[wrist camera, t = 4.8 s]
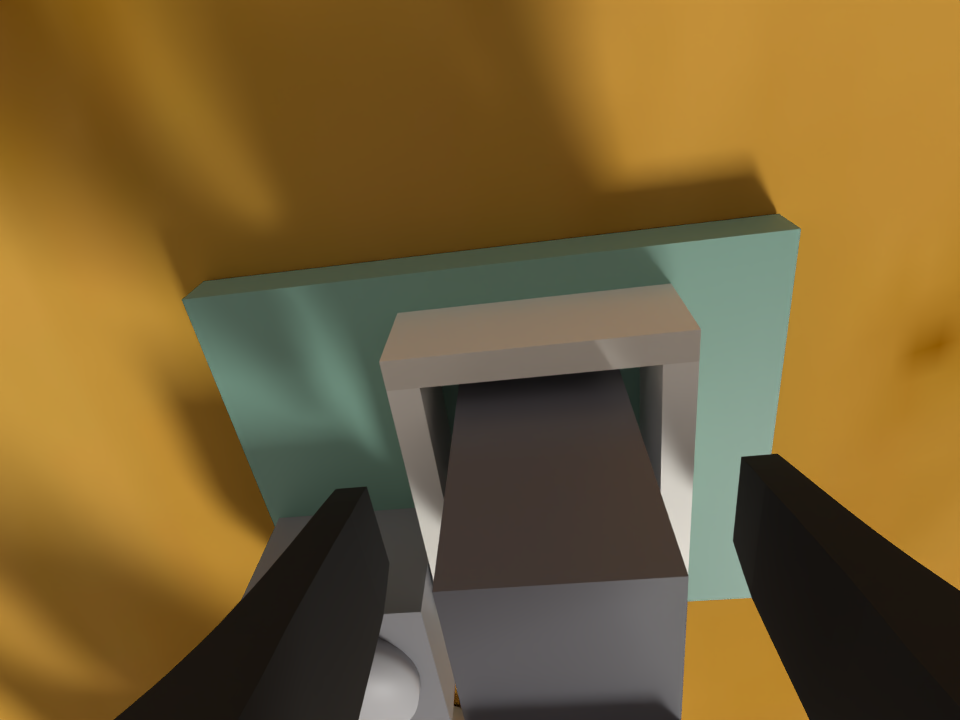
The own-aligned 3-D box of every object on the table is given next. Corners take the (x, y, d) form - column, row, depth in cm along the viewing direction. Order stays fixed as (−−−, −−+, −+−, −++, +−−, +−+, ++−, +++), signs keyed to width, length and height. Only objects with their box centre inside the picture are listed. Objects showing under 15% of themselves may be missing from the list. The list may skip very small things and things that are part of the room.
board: (779, 213, 12) (912, 304, 8) (739, 567, 16) (810, 730, 13) (203, 281, 13) (74, 389, 9) (323, 593, 18) (273, 750, 14)
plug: (608, 337, 12) (704, 622, 6) (613, 487, 14) (690, 811, 8) (463, 352, 12) (426, 636, 7) (487, 497, 14) (475, 815, 8)
